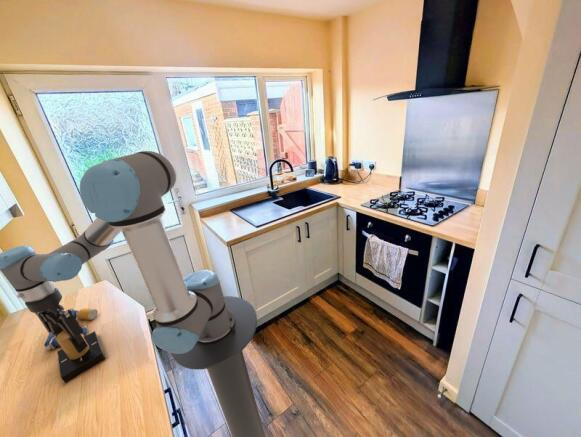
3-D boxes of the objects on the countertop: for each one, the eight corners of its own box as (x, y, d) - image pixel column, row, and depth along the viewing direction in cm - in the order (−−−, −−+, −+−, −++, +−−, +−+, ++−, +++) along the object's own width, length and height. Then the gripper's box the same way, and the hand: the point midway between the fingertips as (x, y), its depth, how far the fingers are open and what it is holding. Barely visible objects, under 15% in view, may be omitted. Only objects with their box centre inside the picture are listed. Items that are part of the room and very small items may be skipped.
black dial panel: (106, 358, 84) (102, 352, 83) (65, 383, 77) (60, 377, 76) (98, 336, 93) (94, 330, 92) (61, 357, 87) (57, 351, 85)
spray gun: (102, 304, 110) (61, 319, 104) (97, 297, 108) (55, 311, 103) (93, 338, 93) (43, 358, 88) (88, 330, 91) (37, 350, 86)
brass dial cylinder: (91, 349, 85) (79, 330, 81) (71, 362, 81) (57, 343, 77) (86, 342, 88) (74, 323, 84) (67, 354, 84) (53, 335, 80)
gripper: (5, 299, 73) (45, 352, 83) (47, 307, 68) (85, 362, 77) (34, 283, 80) (68, 334, 89) (75, 289, 74) (107, 342, 84)
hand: (76, 347), depth 83 cm, fingers closed on brass dial cylinder, 6 cm apart
